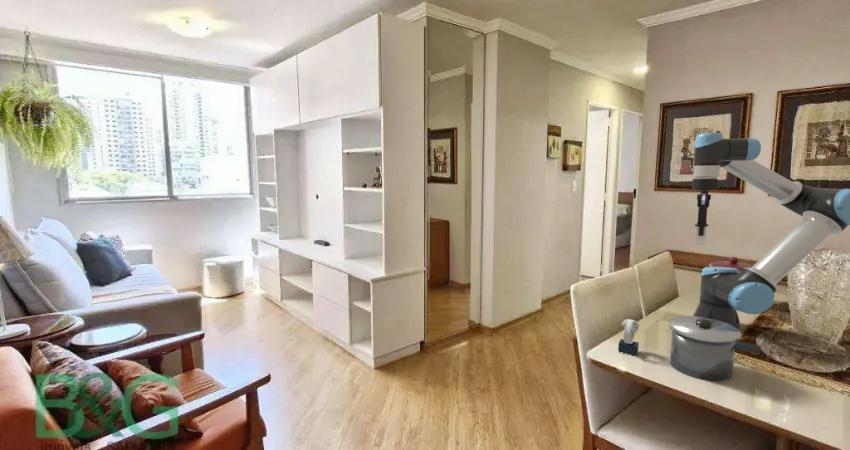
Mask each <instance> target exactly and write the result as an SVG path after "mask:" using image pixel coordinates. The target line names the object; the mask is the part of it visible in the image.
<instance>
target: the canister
mask: <svg viewBox="0 0 850 450" xmlns="http://www.w3.org/2000/svg"><path fill="white" fill-rule="evenodd" d="M739 260H740V259H739V258H738V257H736V256H731V257H729V258H728V260H721V261H720V260H719V261H713V262H711V263H709V265H708V267H729V268H736V269H738V270H739V272H740V271H741V270H742V269H743V268H751V267H753V266H754V265H752V264H749V263H745V262H739Z"/></svg>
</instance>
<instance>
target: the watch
mask: <svg viewBox="0 0 850 450" xmlns="http://www.w3.org/2000/svg"><path fill="white" fill-rule="evenodd" d="M620 325H621V326H622V327H623V328H624V334H623V338H620V340H619V342H618V350H617V352H618V351H619V352H618V353H620V352H623V353H622V354H625V353H627V354H626V355H629V354H631V355H630V356H634V355H635V356H634V357H637V356H638V353H639V342H637V341H634V339H635V334H637V331H638V330H639V327H640V324H639V323H638V322H637V321H636V320H634V319H624V320H623V321H622V322H621V324H620Z"/></svg>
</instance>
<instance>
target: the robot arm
mask: <svg viewBox="0 0 850 450" xmlns="http://www.w3.org/2000/svg"><path fill="white" fill-rule="evenodd" d="M694 143H695V144H694V147H693V148H694V155H693V157H694V158H693V168H691V169H690V171H691V172H693V173H692V177H693V179H692V180H691V181H692V182H691V184H692V185H691V189H692V190H699V191H700V192H699V194H697V195H696V200H697V206H696V207H697V208H698V211H697V212H698V215H697V222H696V224H694V227H696V235H695V245H697V246H705V245H706V235H707V227H709V224H707V218H708V217H707V216H708V208H709V207H710V202H711V201H710V200H711V199H712V198H711V197H712V194H709V191H711V190H717V189H718V188H719V177H720V168H721V169H723V170H725V171H726V172H729V173H730V174H732V175H734V176H736V177H738V178H739V179H741V180H743V181H744V182H746V183H748V184H749V185H751V186H753V187H755V188H757V189H758V190H761V192H764V193H765V194H768V195H769V196H771V197H773V199H775V202H776V203H777V204H779V205H781V206H782V207H785V208H786V209H788V210H790V211H791V212H793V213H795V214H796V215H799V216H801V217H803V219H802V220H801V221H800V222H799V223H798V224H797V225H796V226H795V227H794V228H792V230H790V231H789V232H788V233H787V234H786V235H785V236H784V237H783V238H781V240H779V241H778V242H777V243H776V244H775V245H774V246H773V247H772V248H771V249H770V250H769V251H768V252H766V253H765V254H764V255H763V256H762V257H761V258H760V259H758V261H757V262H755V263H754V264H753V265H752V266H753V267H751V268H743V269H742V270H741V271H740V272H739V270H738V269H736V268H729V267H710V266H706V267H703V268H702V270H701V273H700V291H699V292H700V293H699V302H698V305H697V307H696V308H695V311H694V313H693V315H692V316H696V317H704V318H709V319H714V320H718V321H721V322H725V323H727V324H730V325H732V326H734V327H736V328H737V329H739V330H740V327H741V321H740V317H739V315H738V312H741V313H745V314H747V315H758V314H762V313H764V312H767V311H768V310H769V309H771V307H772V306H773V305H774V301H775V300H774V299H775V293H776V292H777V291H778V286H777V284H778V283H780V281H781V280H783V278H785V276H787V275H788V274H789V273H790V272H791V271H793V270H794V269H795V268H796V267H797V266H798V265H799V264H800V263H801V262H802V261H803V260H804V259H805V258H806V257H808V256H809V255H810V254H811V253H812V252H814V251H815V249H816V248H817V247H819V246H820V245H821V244H822V243H823V242H824V241H825V240H826V239H827V238H828V237H830V236H831V235H837V234H838V235H839V234H841V233H842V232H844V230H846V229H847V227H848V226H850V188H827V187H826V188H824V187H814V186H809V185H806V184H803V183H802V182H800V181H792V180H790V179H788V178H786V177H784V176H783V175H781V174H779V173H777V171H776V172H775V171H774V170H772V169H771V168H769V167H766V166H765V165H763V164H761V163H760V162H758V161H756V160H755V159H757V158H758V157H759V155H760V154H761V150H762V145H761V142H760V141H759V139H757V138H748V137H744V138H723V134H722V133H721V132H703V133H699V134H697V135H696V137H695V140H694ZM809 253H810V254H809ZM808 254H809V255H808ZM737 311H738V312H737Z"/></svg>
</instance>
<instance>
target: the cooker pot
mask: <svg viewBox="0 0 850 450" xmlns="http://www.w3.org/2000/svg"><path fill="white" fill-rule="evenodd" d="M670 343H671V345H670V355H669V356H670V359H669V364H670V366H671V367H672V368H673V369H674V370H676V371H678V372H680V373H681V374H683V375H686V376H687V377H688V376H689V377H692V378H694V379H698V380H702V381H703V380H704V381H709V382H726V381H729V380H731V379H732V378H733V376H734V375H733V374H734V365H735V364H734V362H735V352H736V350H737V351H738V350H739V351H744V352H748V353H749V352H750V353H754V354H760V353H761V352H760V351H761V346H760V345H758V344H754V343H747V342H744V341H743V342H742V341H737V342H733V343H713V342H706V341H700V340H696V339H692V338H689V337H686V336H683V335H680V334H678V333H676V332H674V331H673V330H672V332H671V342H670Z"/></svg>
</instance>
